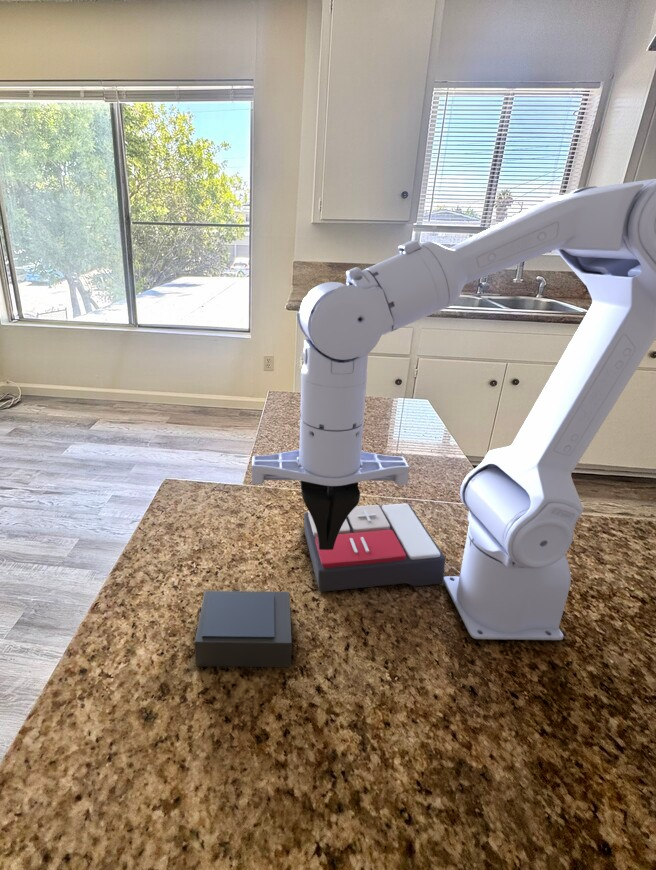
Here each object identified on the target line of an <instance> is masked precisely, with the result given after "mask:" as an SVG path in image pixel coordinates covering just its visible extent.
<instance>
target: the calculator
mask: <svg viewBox="0 0 656 870" xmlns="http://www.w3.org/2000/svg"><path fill="white" fill-rule="evenodd" d="M303 525H304V526H303V527H304V529H303V530H304V531H303V532H304V535H305V539H306V544H307V547H308V552H309V556H310V559H311V563H312V568H313V572H314V576H315V580H316V584H317V588H318V590H319V591H320V592H321V593H322V592H332V591H333V592H334V591H343V590H351V589H352V590H353V589H361V588H372V587H380V586H391V585H392V586H393V585H401V584H408V585H410V586H412V587H421V586H429V585H430V586H431V585H441V584H442V583H444V582H443V578H444V577H445V566H446V556H445V555H444V554H443V552H442V550H441V549H440V548H439V546H438V544H437V543H436V542H435V540H434V539H433V536H432V535H431V534H430V532H429V531H428V529H427V528H426V527H425V525H424V523H423V522H422V520H421V519H420V518H419V516H418V515H417V513H416V512H415V510H414V508H413V507H412V506H411V504H410V503H407V502H406V503H405V502H403V503H392V504H382V505H379V504H369V505H357V506H356V507H355V508H354V509H353V510H352V511H351V512H350V514H349V515H348V516H347V518H346V519H345V521H344V523H343V525H342V527H341V529H340V531H339V533H338V536H337V538H336V541H335V544H334V548H333V550H320V549H319V545H318V539H317V530H316V527H315V524H314V521H313V518H312V516H311V514H310V512H309V510H308V511H306V512H305V513H304V514H303Z"/></svg>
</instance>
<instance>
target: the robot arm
mask: <svg viewBox="0 0 656 870" xmlns="http://www.w3.org/2000/svg"><path fill="white" fill-rule="evenodd" d="M397 249H398V252H399V253H398V254H396V255H394V256H392V257H389V258H387V259H385V260H382V261H380V262H378V263H376V264H373V265H371V266H368V267H367V268H364V269H361V268H360V267H356V266H355V267H352V268H350V269H348V270H346V272H345V275H346V282H345V283H342V282H337V281H336V282H335V281H327V282H322V283H320V284H318V285H316V286H315V287H313V288H312V289H311V290H309V291H308V293H307V295H306V296H305V297H304V298H303V299H302V302H301V304H300V308H299V311H297V313H296V320H297V324H298V327H299V329H300V331H301V332H302V334H303V336H305V337H306V339H304V341H303V350H302V359H303V364H302V367H301V372H300V373H301V374H300V377H301V378H300V413H299V444H298V445H299V446H298V447H299V448H298V449H295V450H289V451H283V452H277V453H271V454H262V455H252V459H251V484H252V485H263V484H264V483H265V481H299V482H300V483H299V484H300V491H301V497H302V500H303V502H304V505H305V507H306V509H307V510H308V511H309V512H310V514H311V516H312V518H313V521H314V524H315V527H316V530H317V539H318V545H319V549H320V550H333V548H334V544H335V541H336V538H337V536H338V533H339V531H340V529H341V527H342V525H343V523H344V521H345V519H346V518H347V516H348V515H349V514H350V512H351V511H352V510H353V509H354V508H355V507H356V506H359V502H360V498H361V491H360V487H359V483H362V482H394V484H395V485H398V486H408V483H409V474H410V466H409V463H408V462H407V460H406V459H405V457H404V456H401V455H399V456H398V455H386V454H380V453H374V452H369V451H363V450H362V449H363V447H362V446H363V434H364V421H365V409H366V394H367V384H368V383H367V382H368V381H367V380H368V360H369V359H368V358H369V354H370V353H371V352H372V351H373V350H374V348H376V346H377V345H378V343H379V341H380V339H381V337H382V336H383V335H384V336H385V335H388V334H390V333H392V332H394V331H397V330H398V329H401V328H404V327H406V326H408V325H411V324H413V323H415V322H417V321H420V320H422V319H424V318H427V317H429V316H431V315H433V314H436V313H438V312H441V311H443V310H445V309H446V308H449V307H452V306H454V305H455V304H456V303H457V302H458V300H459V299H460V296H461V294H462V291H463V289H464V287H465V286H466V285H467V284H469V283H472V282H475V281H477V280H481V279H483V278H484V277H487V276H490V275H493V274H496V273H498V272H501V271H503V270H507V269H509V268H511V267H514V266H516V265H519V264H521V263H524V262H527V261H530V260H532V259H534V258H538V257H539V256H542V255H546V254H548V253H550V252H553V251H556V253H557V254H558V255H559V256H560V257H561V259H562V260H563V262H565V263H566V264H567V265H568V266H569V268H570V269H571V270H572V271H573V272H574V274H575V275H576V276H577V277H578V278H579V280H581V282H582V283H583V284H584V285H585V286H586V288H587V291H588V294H589V295H590V298H591V305H590V307H589V308H588V310H587V311H586V313H585V316H584V317H583V319H582V320H581V322H580V323H579V326H578V328H577V330H576V331H575V333H574V335H573V336H572V339H571V340H570V342H569V343H568V345H567V347H566V349H565V350H564V352H563V353H562V356H561V358H560V359H559V361H558V363H557V365H556V366H555V368H554V370H553V371H552V373H551V374H550V377H549V379H548V380H547V382H546V384H545V386H544V387H543V389H542V391H541V393H540V394H539V396H538V398H537V399H536V401H535V402H534V404H533V407H532V408H531V410H530V412H529V413H528V415H527V417H526V419H525V421H524V423H523V424H522V426H521V428H520V429H519V431H518V433H517V434H516V436H515V438H514V440H513V441H512V443H511V445H510V444H509V445H507V446H504V447H498V448H494V449H490V450H488V451H487V453H486V454H485V456H484V458H483V459H482V461H481V462H480V463H479V464H478V465H477V466H476V467H475V468H473V469H472V470H471V471H469V472H468V473H467V474H466V476H465V477H464V479H463V480H462V483H461V485H460V489H459V496H460V500H461V502H462V504H463V506H465V508H467V509H468V513H467V518H466V519H467V522H468V528H467V533H466V540H465V545H464V549H463V557H462V562H461V566H460V573H459V576H458V575H457V576H454V575H453V576H449V575H447V576H446V575H444V577H443V582H442V583H443V584H444V586H445V589H446V590H447V592H448V594H449V596H450V598H451V600H452V602H453V604H454V607H455V608H456V610H457V612H458V614H459V616H460V617H461V621H462V622H463V624H464V626H465V628H466V630H467V632H468V634H469V635H470V637H471V638H472V639H474V640H513V641H515V640H516V641H517V640H518V641H519V640H520V641H521V640H523V641H524V640H525V641H562V640H563V639H564V636H565V635H564V633H563V631H562V630H561V629H560V626H561V622H562V618H563V614H564V612H565V611H564V610H565V607H566V604H567V600H568V596H569V592H570V589H571V583H572V575H571V574H572V573H571V568H570V564H569V561H568V558H567V556H566V554H567V553H568V551H569V550H570V547H571V545H572V543H573V539H574V533H575V527H576V524H577V522H578V521H579V518H580V517H581V515H582V514H583V512H584V507H583V504H582V501H581V498H580V496H579V493H578V490H577V489H576V486H575V483H574V480H573V478H572V473H573V472H574V470H575V469H576V467H577V465H578V464H579V462H580V461H581V460H582V457H583V456H584V454H585V453H586V451H587V449H588V448H589V446H590V445H591V443H592V441H593V440H594V438H595V437H596V435H597V433H598V432H599V431H600V428H601V427H602V425H603V424H604V422H605V421H606V419H607V417H608V416H609V414H610V412H611V411H612V410H613V408H614V406H615V405H616V403H617V401H618V400H619V398H620V396H621V395H622V393H623V391H624V390H625V389H626V388H627V385H628V384H629V382H630V380H631V379H632V377H633V376H634V374H635V372H636V371H637V370H638V368H639V366H640V365H641V363H642V362H643V360H644V358H645V356H646V355H647V353H648V351H649V350H650V349H651V347H652V345H653V344H654V342H655V340H656V178H649V179H643V180H637V181H630V182H623V183H622V182H621V183H615V184H609V185H602V186H583V187H579V188H577V189H575V190H572V191H571V192H570V193H566V194H560V195H557V196H553V197H550V198H548V199H547V200H544V201H542V202H540V203H538V204H536V205H534V206H532V207H530V208H528V209H526V210H524V211H522V212H520V213H518V214H516V215H514V216H512V217H509V218H508V219H506V220H504V221H502V222H499V223H498V224H495V225H493V226H491V227H489V228H487V229H486V230H483V231H481V232H479V233H477V234H475V235H473V236H471V237H469V238H467V239H465V240H463V241H461V242H459V243H456V244H455V245H453V246H450V247H447V246H444V245H442V244H440V243H437V242H435V241H429V240H428V241H425V242H423V243H420V241H419V240H409V241H407V242H404V243H402V244H400V245H398V247H397Z"/></svg>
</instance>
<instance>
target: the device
mask: <svg viewBox="0 0 656 870" xmlns="http://www.w3.org/2000/svg"><path fill="white" fill-rule="evenodd" d="M290 601H291V600H290V591H269V590H268V591H267V590H265V591H262V590H260V591H259V590H257V591H255V590H253V591H252V590H204V592H203V597H202V603H201V607H200V613H199V618H198V623H197V628H196V634H195V638H194V652H195V653H194V654H195V656H194V657H195V667H232V668H233V667H235V668H238V667H240V668H241V667H247V668H257V667H258V668H291V667H292V666H291V665H292V645H293V644H292V625H291V624H292V622H291V621H292V619H291V602H290Z"/></svg>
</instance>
